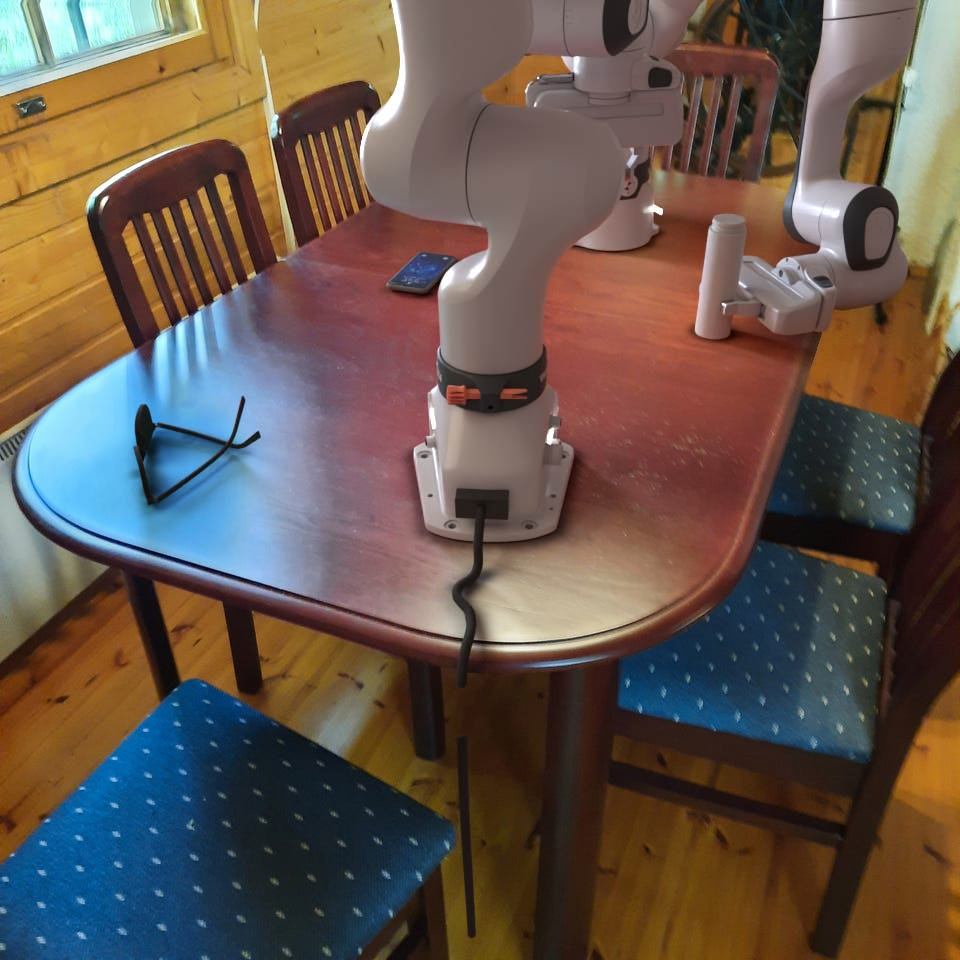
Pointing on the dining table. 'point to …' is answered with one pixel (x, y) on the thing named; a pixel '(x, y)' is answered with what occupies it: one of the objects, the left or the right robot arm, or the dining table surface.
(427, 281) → the smartphone
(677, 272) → the dining table surface
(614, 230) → the right robot arm
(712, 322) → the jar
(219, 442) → the sunglasses
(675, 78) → the left robot arm
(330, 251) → the dining table surface
